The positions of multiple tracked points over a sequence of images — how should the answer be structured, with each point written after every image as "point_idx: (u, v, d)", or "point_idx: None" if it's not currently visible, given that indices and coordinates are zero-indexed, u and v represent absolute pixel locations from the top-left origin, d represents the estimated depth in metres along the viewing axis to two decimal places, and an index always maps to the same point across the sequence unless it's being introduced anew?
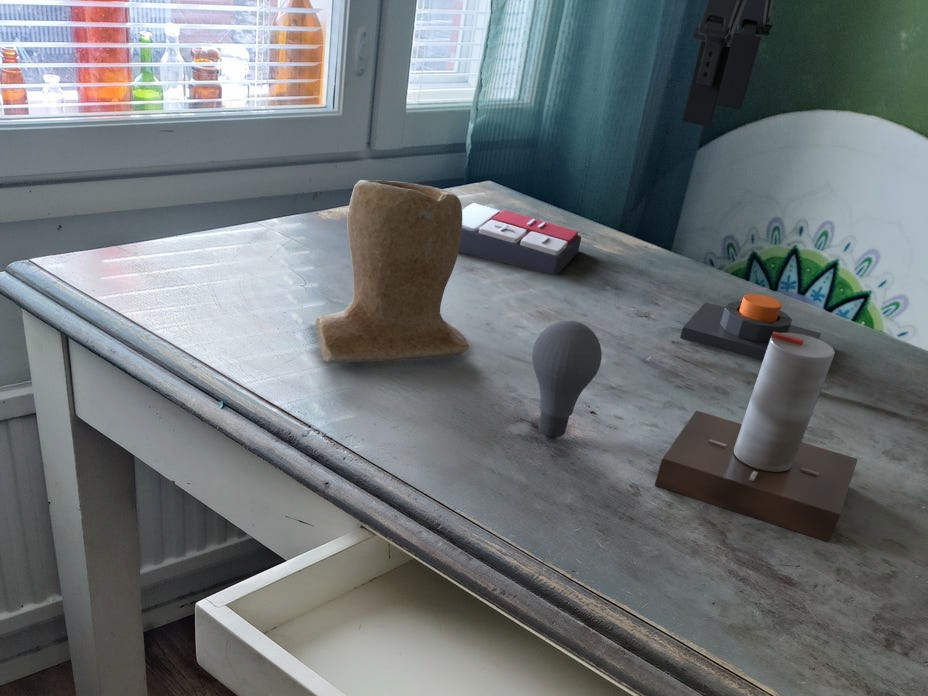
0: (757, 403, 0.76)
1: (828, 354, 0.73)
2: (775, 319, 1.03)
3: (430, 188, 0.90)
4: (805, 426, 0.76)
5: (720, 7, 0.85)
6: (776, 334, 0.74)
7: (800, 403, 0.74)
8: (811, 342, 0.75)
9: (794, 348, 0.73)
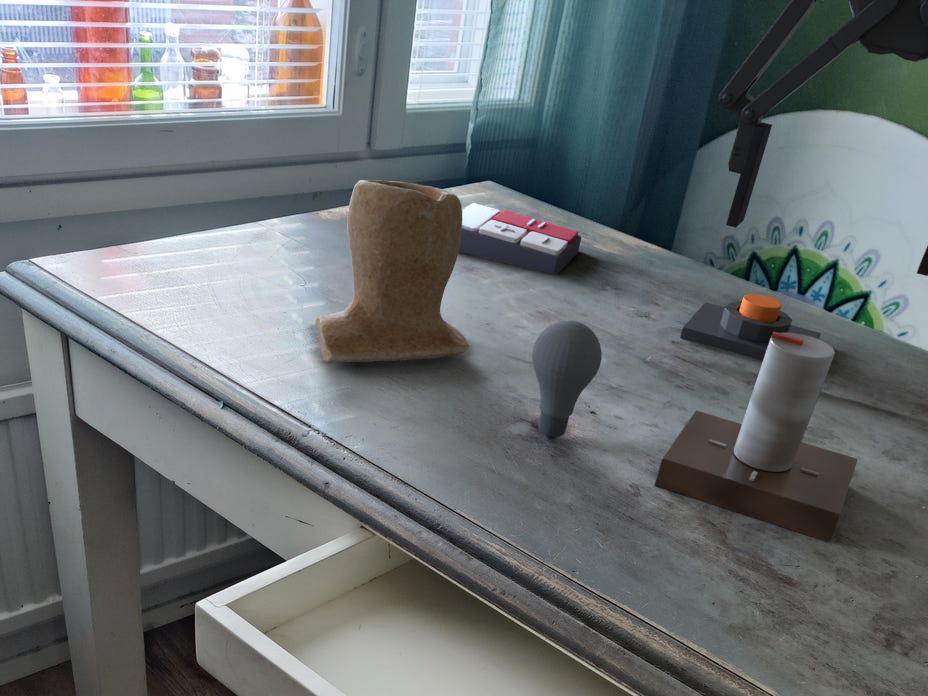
0: (757, 403, 0.76)
1: (828, 354, 0.73)
2: (775, 319, 1.03)
3: (430, 188, 0.90)
4: (805, 426, 0.76)
5: None
6: (776, 334, 0.74)
7: (800, 403, 0.74)
8: (811, 342, 0.75)
9: (794, 348, 0.73)
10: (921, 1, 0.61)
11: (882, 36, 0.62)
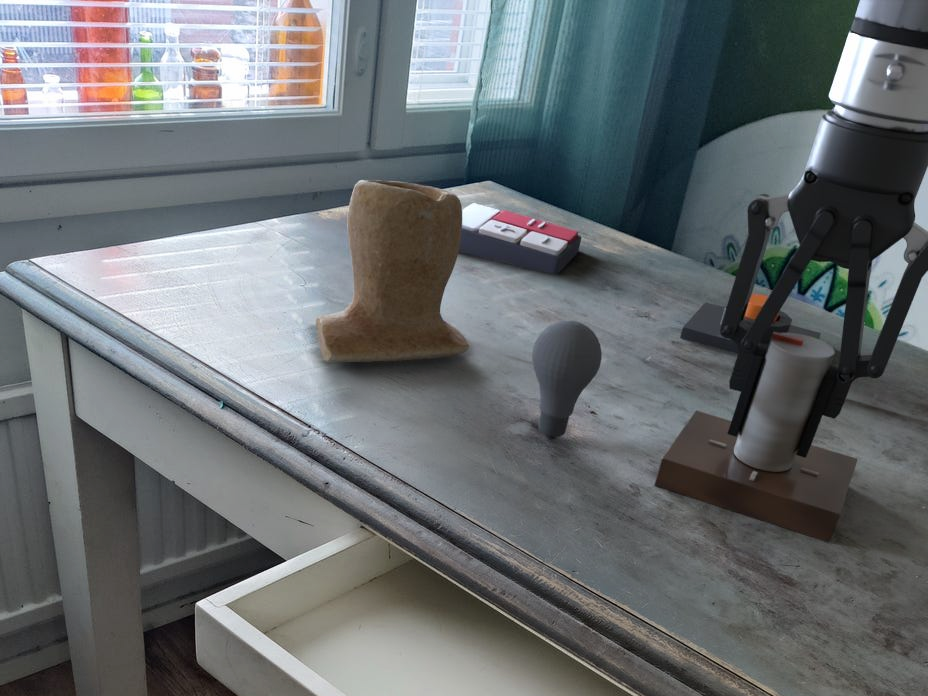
0: (757, 403, 0.76)
1: (828, 354, 0.73)
2: (775, 319, 1.03)
3: (430, 188, 0.90)
4: (805, 426, 0.76)
5: None
6: (776, 334, 0.74)
7: (800, 403, 0.74)
8: (811, 342, 0.75)
9: (794, 348, 0.73)
10: (858, 217, 0.67)
11: (820, 247, 0.69)
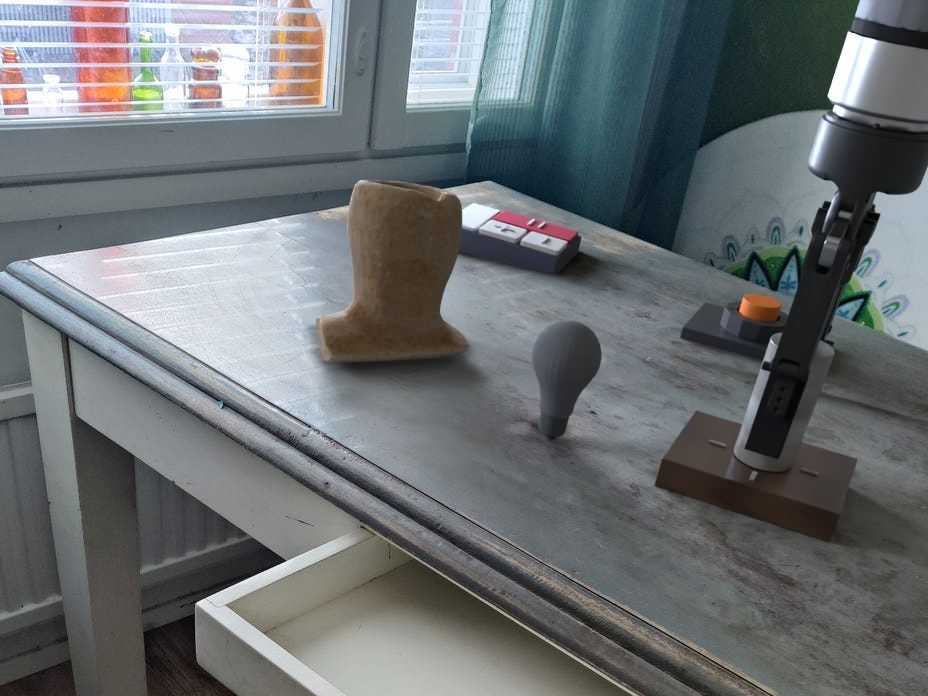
0: (800, 415, 0.75)
1: None
2: (775, 319, 1.03)
3: (430, 188, 0.90)
4: None
5: None
6: None
7: None
8: None
9: (820, 351, 0.73)
10: (867, 213, 0.68)
11: (850, 254, 0.69)
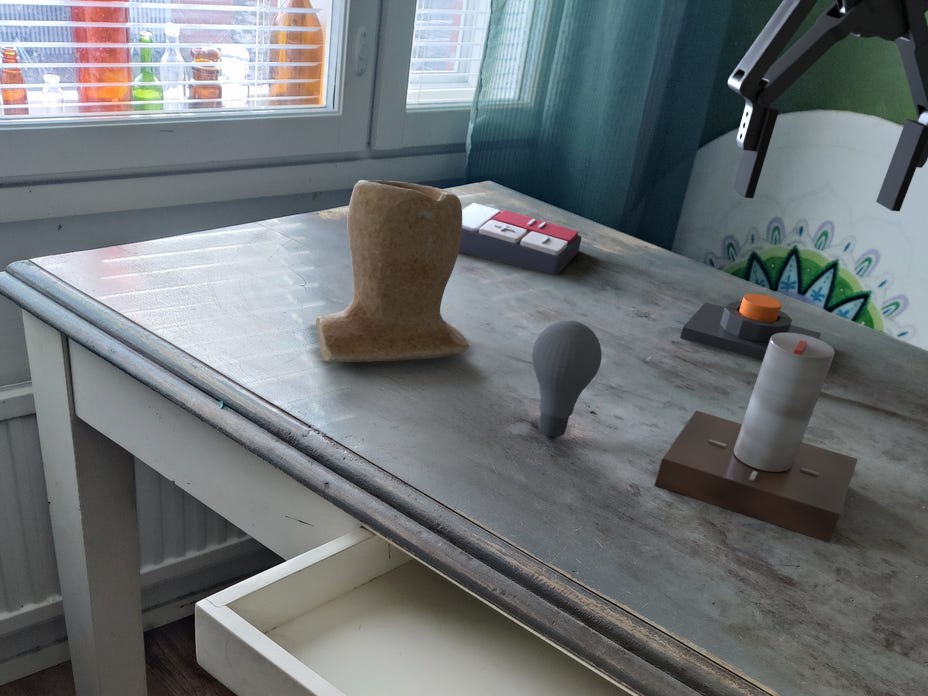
0: (800, 415, 0.75)
1: (815, 339, 0.75)
2: (775, 319, 1.03)
3: (430, 188, 0.90)
4: None
5: None
6: (801, 349, 0.72)
7: None
8: (790, 339, 0.75)
9: (820, 351, 0.73)
10: None
11: (870, 23, 0.74)
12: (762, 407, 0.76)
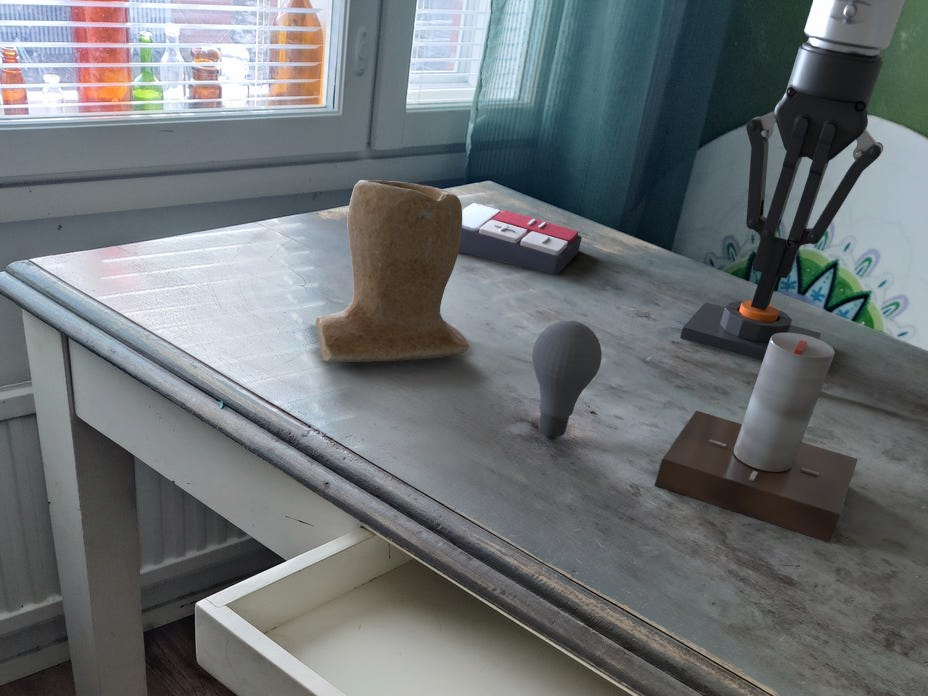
0: (800, 415, 0.75)
1: (815, 339, 0.75)
2: None
3: (430, 188, 0.90)
4: None
5: None
6: (801, 349, 0.72)
7: None
8: (790, 339, 0.75)
9: (820, 351, 0.73)
10: (828, 120, 0.91)
11: None
12: (762, 407, 0.76)
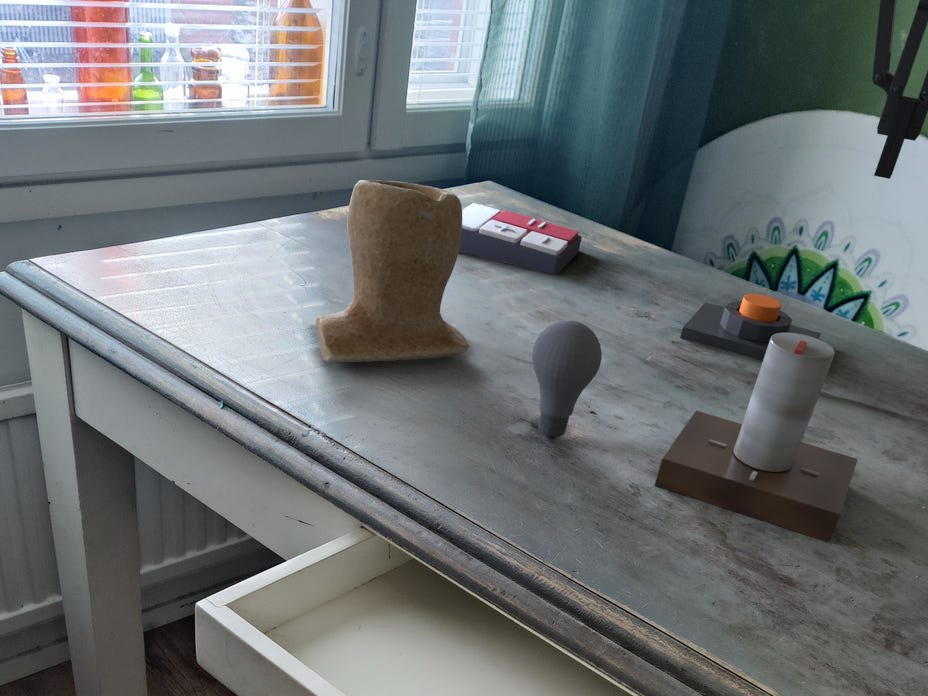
0: (800, 415, 0.75)
1: (815, 339, 0.75)
2: (775, 319, 1.03)
3: (430, 188, 0.90)
4: None
5: None
6: (801, 349, 0.72)
7: None
8: (790, 339, 0.75)
9: (820, 351, 0.73)
10: None
11: None
12: (762, 407, 0.76)
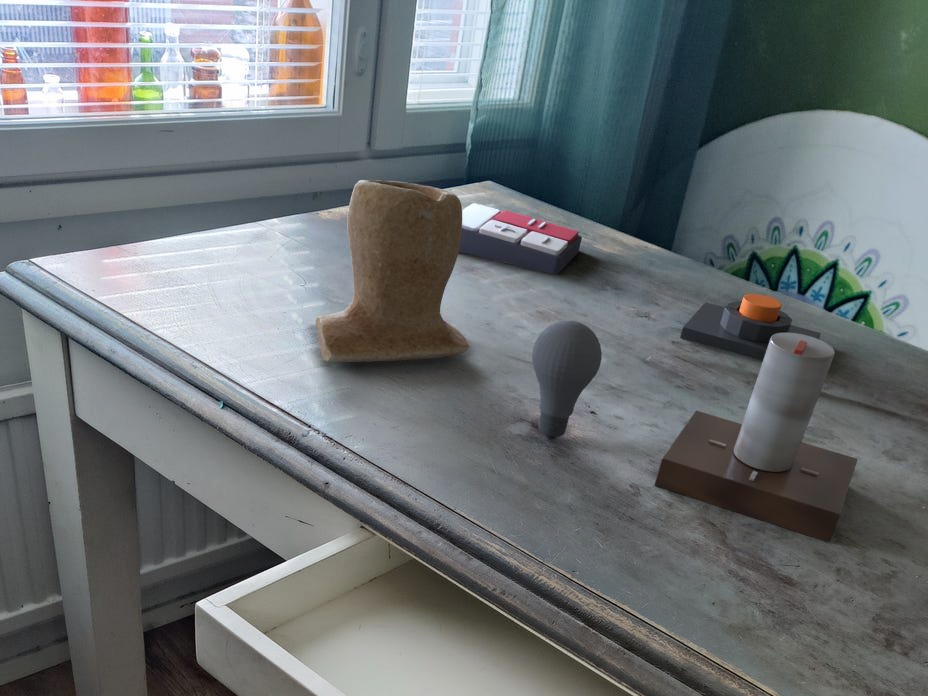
0: (800, 415, 0.75)
1: (815, 339, 0.75)
2: (775, 319, 1.03)
3: (430, 188, 0.90)
4: None
5: None
6: (801, 349, 0.72)
7: None
8: (790, 339, 0.75)
9: (820, 351, 0.73)
10: None
11: None
12: (762, 407, 0.76)
